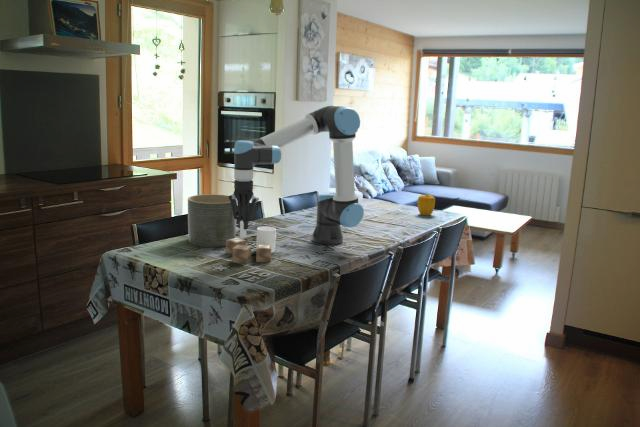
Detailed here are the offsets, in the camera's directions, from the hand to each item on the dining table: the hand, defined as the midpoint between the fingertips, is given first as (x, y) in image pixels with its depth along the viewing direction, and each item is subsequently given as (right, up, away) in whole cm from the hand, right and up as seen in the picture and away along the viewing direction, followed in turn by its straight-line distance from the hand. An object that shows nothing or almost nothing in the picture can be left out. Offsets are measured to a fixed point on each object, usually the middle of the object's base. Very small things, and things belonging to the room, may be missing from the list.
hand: (243, 236), depth 225 cm
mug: (+8, -7, +20) cm, 22 cm away
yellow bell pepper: (+97, +8, +115) cm, 150 cm away
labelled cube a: (-5, -8, +13) cm, 16 cm away
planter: (-19, -4, +30) cm, 35 cm away
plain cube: (-1, -10, +2) cm, 11 cm away
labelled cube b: (+8, -10, +5) cm, 14 cm away
